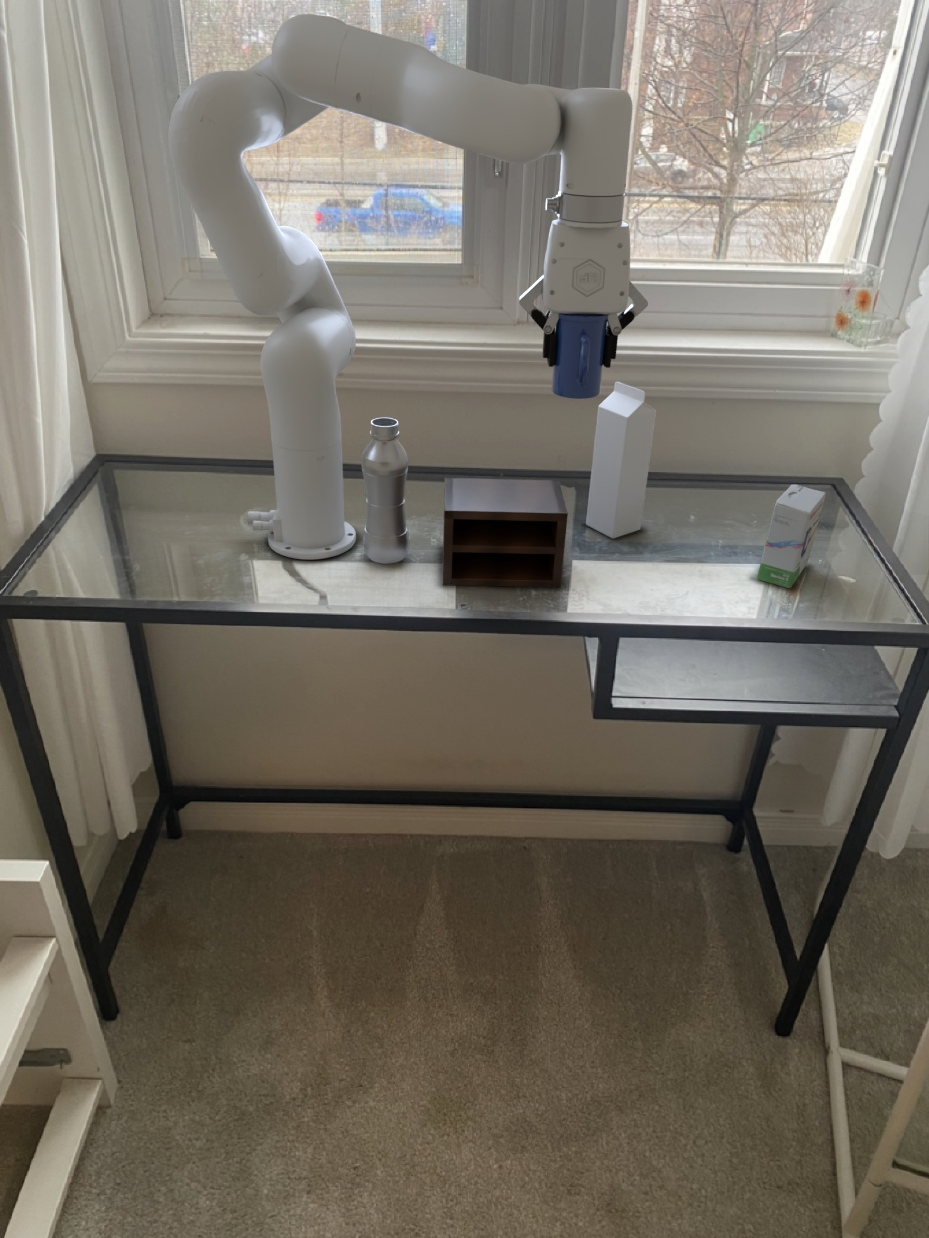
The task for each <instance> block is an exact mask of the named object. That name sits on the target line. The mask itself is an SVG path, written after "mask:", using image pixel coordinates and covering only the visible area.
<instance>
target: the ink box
mask: <svg viewBox="0 0 929 1238" xmlns="http://www.w3.org/2000/svg"><path fill="white" fill-rule="evenodd" d="M826 496H827V492H826V491H825V492H824V491H820V490H817V489H813V488H810V487H805V486H802V485H799V484H794V483H793V484H791V485H790V486H789V487H788V488H787V489H786V490H785V491H784V492H783V493H782V494H781V495H780V496H779V497H778V499H776V502H775V504H774V507H773V511H772V514H771V520H770V524H769V528H768V531H767V536H766V540H765V544H764V547H763V552H762V556H761V560H760V564H759V568H758V571H757V572H758V573H757V576H756V580H758V581H763V582H766V583H769V584H773V585H776V586H779V587H784V588H787V589H791V588H792V587H793V586H794V584H795V583H796V581H797V580H798V578H799V576H800V575H801V573H802V572H803V570H804V569H805V568H806V566H807V565H808V562H809V558H810V555H811V552H812V548H813V544H814V540H815V537H816V533H817V529H818V525H819V522H820V518H821V514H822V512H823V511H822V510H823V507H824V504H825V499H826Z"/></svg>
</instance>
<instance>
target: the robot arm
mask: <svg viewBox="0 0 929 1238" xmlns="http://www.w3.org/2000/svg"><path fill="white" fill-rule="evenodd" d="M633 100H634V99H633V97H632V95H631V94H630V93H629V92H628V91H626V90H624V89H620V88H607V87H580V88H575V89H568V88H561V87H555V86H552V85H551V86H550V85H546V84H540V83H527V84H521V83H516V82H513V81H509V80H505V79H502V78H498V77H495V76H492V75H488V74H485V73H481V72H479V71H478V72H477V71H474V70H472V69H468V68H465V67H462V66H459V65H456V64H454V63H451V62H449V61H447V60H444V59H443V58H440V57H439V56H437V54H435V53H434V52H433V51H431V50H429V49H427V47H424V46H421V45H419V44H418V43H414V42H410V41H407V40H406V41H405V40H401V39H399V38H395V37H392V36H389V35H384V34H381V33H377V32H374V31H371V30H367V29H364V28H360V27H357V26H353V25H350V24H347V23H346V22H344V21H343V20H340V19H338V18H336V17H333V16H328V15H320V14H312V13H307V14H306V13H301V14H298V15H294V16H292V17H290V18H289V19H287V20H286V21H284V22H283V23H282V24H281V25H280V27H279V28H278V29H277V31H276V32H275V36H274V38H273V40H272V46H271V53H269V54H268V55H267V56H265V57H264V58H263V59H261V60H259V61H258V62H257V63H255V64H253V65H252V66H251V67H248V68H247V69H246V70H222V71H214V72H210V73H207V74H204V75H202V76H200V77H199V78H196V79H195V80H194V81H192V82H191V83H190V84H189V85H188V86H187V87H185V89H184V91H182V92H181V94H180V96H179V97H178V98H177V101H176V103H175V105H174V106H173V109H172V111H171V115H170V119H169V124H168V133H167V144H168V151H169V157H170V160H171V164H172V167H173V170H174V172H175V175H176V177H177V180H178V181H179V183H180V185H181V187H182V190H183V191H184V193H185V195H186V197H187V199H188V201H189V203H190V205H191V206H192V208H193V210H194V213H195V214H196V216H197V219H198V220H199V223H200V224H201V226H202V229H203V231H204V233H205V236H206V238H207V240H208V242H209V244H210V245H211V246H210V247H211V248H212V250H213V252H214V254H215V256H216V258H217V260H218V263H219V264H220V266H221V269H222V270H223V273H224V275H225V277H226V280H227V281H228V283H229V285H230V287H231V289H232V292H233V293H234V295H235V298H236V299H237V300H238V302H239V303H240V304H241V305H242V306H243V308H245V309H246V310H247V311H249V312H250V313H252V314H255V315H258V316H273V315H275V314H277V316H278V318H279V321H280V322H281V324H279V325H278V326H277V327H276V328H275V329H273V330H272V331H271V333H270V334H269V335H268V336H267V338H266V340H265V342H264V344H263V346H262V350H261V353H260V374H261V379H262V385H263V388H264V392H265V396H266V401H267V408H268V416H269V427H270V439H271V446H272V447H271V448H272V449H271V450H272V461H273V462H272V463H273V474H274V476H273V477H274V488H275V503H276V509H270V510H269V511H267V512H266V511H258V510H257V511H251V510H249V511H247V516H246V519H247V525H249V526H250V525H252V530H253V531H262V532H263V531H269V532H268V534H267V543H268V545H269V547H270V549H272V551H274V552H275V553H277V554H279V555H281V556H284V557H286V558H291V559H295V560H311V561H312V560H322V559H329V558H332V557H336V556H339V555H342V554H344V553H345V552H347V551H349V550H350V549H351V548H353V547H354V545H355V544H356V541H357V534H356V533H357V532H356V529H355V527H353V526H352V524H350V523H349V522H347V521H345V498H344V497H345V496H344V495H345V494H344V470H343V469H344V467H343V439H342V418H341V411H340V404H339V400H338V395H337V390H336V378H337V377H338V376H339V375H340V373H341V372H342V371H343V370H344V369H345V368H346V367H347V366H348V365H349V363H350V362H351V360H352V359H353V356H354V354H355V352H356V351H355V350H356V345H357V337H356V331H355V328H354V325H353V322H352V319H351V317H350V314H349V312H348V310H347V307H346V305H345V303H344V301H343V299H342V296H341V294H340V292H339V290H338V287H337V285H336V283H335V281H334V278H333V276H332V274H331V271H330V269H329V267H328V265H327V263H326V260H325V259H324V256H323V255H322V253H321V251H320V249H319V248H318V246H317V245H316V244H315V243H314V241H313V240H312V239H311V238H310V237H309V236H308V235H307V234H305V233H304V232H303V231H301V230H299V229H297V228H294V227H291V226H287V225H278V223H277V222H276V220H275V217H274V215H273V213H272V211H271V210H270V207H269V205H268V202H267V200H266V197H265V195H264V193H263V191H262V189H261V187H260V186H259V184H258V183H257V182H256V180H255V179H254V177H253V176H252V174H251V173H250V172H249V170H248V168H247V167H246V165H245V163H244V159H243V158H244V157H243V156H244V154H245V152H249V151H253V150H257V149H263V148H266V147H269V146H271V145H273V144H276V143H277V142H279V141H281V140H282V139H284V138H285V137H287V136H288V135H290V134H292V133H294V131H296V130H298V129H299V128H300V127H303V126H304V125H305V124H306V123H308V122H310V121H312V120H313V119H314V118H317V116H319V115H320V114H322V113H324V112H325V111H326V110H328V109H329V108H331V109H335V110H337V111H342V112H346V113H350V114H353V115H357V116H359V117H363V118H366V119H370V120H373V121H376V122H379V123H382V124H385V125H389V126H392V127H395V128H399V129H401V130H404V131H407V132H409V133H411V134H414V135H418V136H421V137H425V138H428V139H432V140H434V141H437V142H440V143H442V144H445V145H448V146H450V147H451V146H452V147H454V148H457V149H460V150H464V151H466V152H471V153H474V154H478V155H481V156H485V157H488V158H490V159H495V160H498V161H501V162H505V163H509V164H513V165H514V164H516V165H526V164H527V165H528V164H531V163H534V162H537V161H538V160H540V159H541V158H543V157H545V156H546V157H547V156H552V155H553V156H554V155H561V158H560V174H559V187H558V188H559V189H558V191H557V193H558V194H556V195H555V196H553V197H552V198H551V197H550V198H548V197H547V198H546V200H545V211H547V212H552V213H555V215H556V216H557V219H554V220H552V221H551V225H550V227H549V231H548V237H547V243H546V247H545V252H544V253H545V254H544V261H543V269H542V275H541V276H540V277H539V278H538V279H536V281H535V282H534V283H533V284H532V285H531V286H530V287H529V288H527V290H525V291H524V292H523V293H522V294H521V295H520V296H519V297H518V302H519V305H520V306H521V307H522V309H523V310H524V311H525V312H526V313H527V314H528V316H530V317H531V319H532V320H533V321H534V323H536V325H538V327H539V328H540V329H541V330H542V331H543V340H542V358H543V359H546V361H547V366H548V367H549V368H553V366H555V357H556V342H557V335H556V333H555V330H556V324H557V322H558V320H559V318H558V317H559V313H565V314H608V319H607V328H606V338H605V349H604V360H603V368H604V367H605V368H606V369H611V364H612V360H616V359H617V351H618V350H617V348H618V339H619V335H621V333H622V331H623V330H624V329H625V328H626V327H628V326H629V324H631V323H632V322H633V321H634V320H635V318H636V317H637V316H639V315H640V314H641V313H642V312H643V311H644V310H645V309H646V308H647V307H648V306H649V302H648V300H647V298H645V296H644V295H643V294H642V293H641V292H640V291H639V289H638V288H637V287H636V286H635V285H634V284H633V282H632V281H631V280H630V279H631V278H630V277H631V233H630V232H631V231H630V224H629V223H627V222H625V221H623V217H624V207H625V197H626V187H627V175H628V165H629V157H630V146H631V135H632V134H631V133H632V124H633V114H634V101H633ZM540 295H541V299H542V303H543V306H544V308H545V309H546V310H547V311H546V313H545V314H544V313H543V311H541V309H540V308H538V306H537V305H536V304H535V303H534V301H535V300H536V299H537V298H538V297H539V296H540ZM629 298H630V299H631V300H632V302H631V304H630V305H629V306H628V303H629V302H628V301H629ZM619 313H620V314H619ZM618 314H619V315H618Z"/></svg>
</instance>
